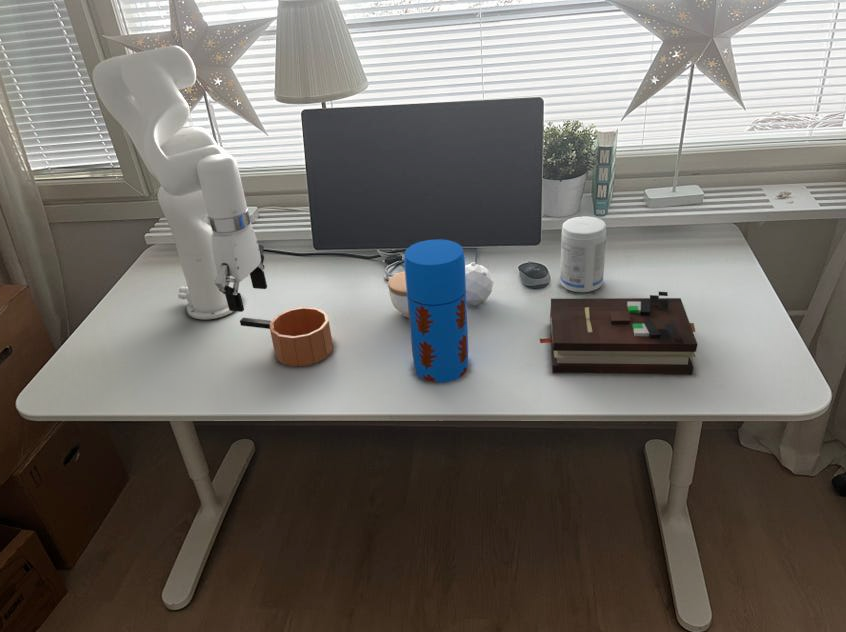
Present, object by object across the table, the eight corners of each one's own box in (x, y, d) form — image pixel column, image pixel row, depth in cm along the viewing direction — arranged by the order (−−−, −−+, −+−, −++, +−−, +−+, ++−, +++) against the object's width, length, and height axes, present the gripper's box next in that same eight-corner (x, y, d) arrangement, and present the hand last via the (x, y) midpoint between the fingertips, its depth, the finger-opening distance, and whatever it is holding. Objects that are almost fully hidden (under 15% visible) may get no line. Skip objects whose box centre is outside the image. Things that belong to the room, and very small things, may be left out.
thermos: (452, 389, 134) (445, 269, 120) (403, 375, 139) (392, 259, 125) (478, 359, 141) (474, 244, 128) (431, 347, 147) (423, 235, 133)
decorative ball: (504, 302, 164) (507, 267, 154) (470, 327, 161) (471, 293, 151) (477, 280, 168) (479, 245, 158) (444, 304, 165) (443, 270, 155)
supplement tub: (591, 271, 168) (595, 212, 160) (610, 289, 160) (615, 228, 152) (552, 278, 167) (555, 220, 158) (569, 297, 159) (573, 236, 151)
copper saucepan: (233, 358, 149) (225, 330, 146) (260, 328, 159) (254, 301, 155) (318, 369, 143) (313, 340, 139) (341, 338, 152) (337, 310, 149)
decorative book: (539, 292, 146) (692, 291, 141) (538, 323, 151) (687, 323, 146) (540, 342, 131) (713, 343, 126) (539, 376, 135) (707, 378, 130)
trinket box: (434, 324, 154) (432, 285, 149) (386, 322, 156) (382, 285, 151) (442, 300, 163) (439, 262, 157) (396, 298, 165) (392, 262, 160)
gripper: (236, 203, 145) (253, 279, 154) (188, 238, 132) (211, 318, 141) (268, 204, 143) (284, 281, 152) (223, 240, 129) (243, 321, 139)
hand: (248, 299), depth 147 cm, fingers open, 9 cm apart
